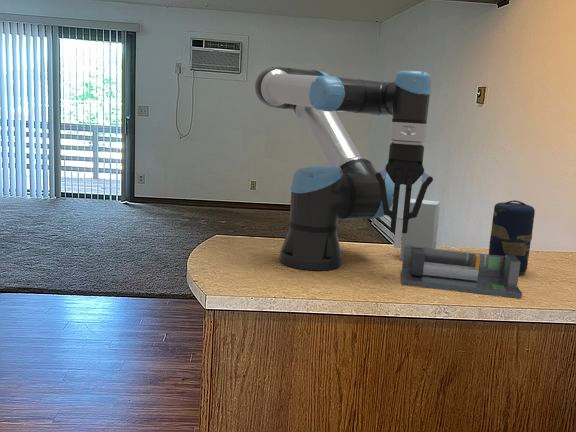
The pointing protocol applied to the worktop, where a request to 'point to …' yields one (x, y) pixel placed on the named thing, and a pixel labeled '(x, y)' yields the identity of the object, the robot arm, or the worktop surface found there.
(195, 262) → the worktop surface
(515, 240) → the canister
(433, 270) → the capped sliding bar
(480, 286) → the rail
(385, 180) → the robot arm
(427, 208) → the skincare box
